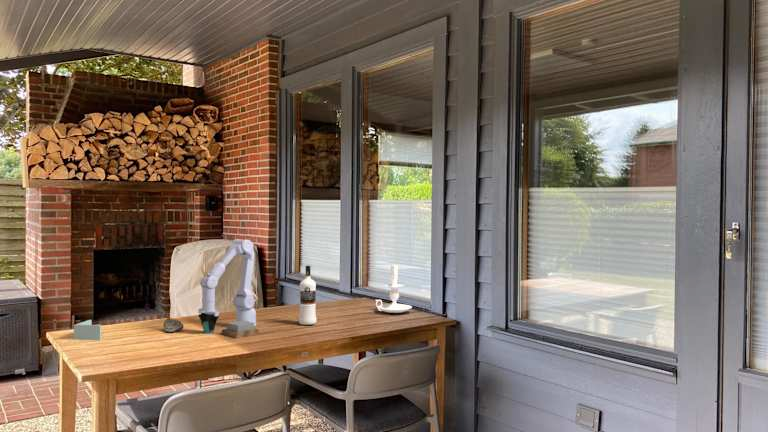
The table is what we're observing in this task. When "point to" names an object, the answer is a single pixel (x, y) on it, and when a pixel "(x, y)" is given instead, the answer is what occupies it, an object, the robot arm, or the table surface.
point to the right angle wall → (87, 331)
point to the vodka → (307, 300)
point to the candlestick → (393, 295)
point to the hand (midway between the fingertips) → (208, 329)
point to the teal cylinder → (206, 328)
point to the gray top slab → (240, 326)
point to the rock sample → (172, 325)
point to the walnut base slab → (239, 333)
